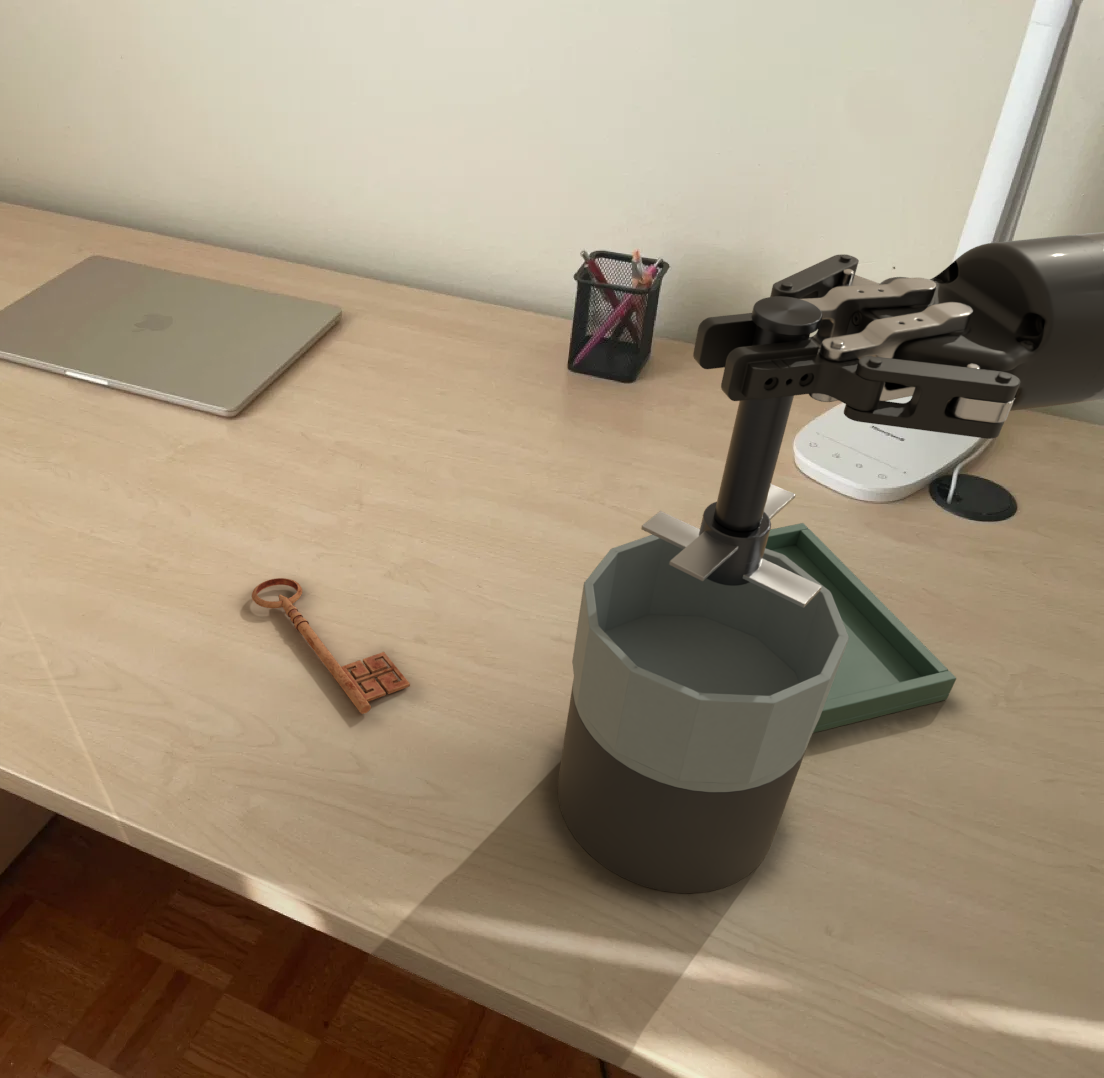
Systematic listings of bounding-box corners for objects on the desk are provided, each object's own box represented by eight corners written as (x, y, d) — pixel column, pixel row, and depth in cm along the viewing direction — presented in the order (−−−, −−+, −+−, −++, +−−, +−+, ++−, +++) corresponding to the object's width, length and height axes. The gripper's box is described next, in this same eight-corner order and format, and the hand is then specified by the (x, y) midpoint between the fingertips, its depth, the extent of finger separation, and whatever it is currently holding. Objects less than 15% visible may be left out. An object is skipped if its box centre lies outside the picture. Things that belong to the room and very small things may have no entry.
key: (413, 696, 72) (313, 572, 82) (415, 686, 71) (313, 562, 82) (338, 723, 69) (244, 592, 80) (339, 714, 69) (244, 583, 79)
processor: (821, 840, 62) (901, 648, 53) (643, 929, 58) (693, 738, 48) (681, 694, 72) (726, 508, 62) (517, 762, 67) (538, 573, 57)
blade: (851, 563, 53) (937, 307, 45) (764, 654, 48) (842, 385, 40) (694, 492, 58) (744, 249, 50) (599, 568, 53) (637, 313, 45)
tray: (947, 699, 71) (957, 677, 70) (768, 744, 68) (776, 722, 67) (797, 543, 84) (803, 522, 83) (642, 574, 81) (646, 553, 80)
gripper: (1000, 185, 51) (661, 215, 48) (1235, 310, 40) (816, 358, 38) (950, 327, 56) (639, 361, 53) (1149, 473, 45) (771, 525, 42)
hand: (715, 359), depth 45 cm, fingers closed on blade
